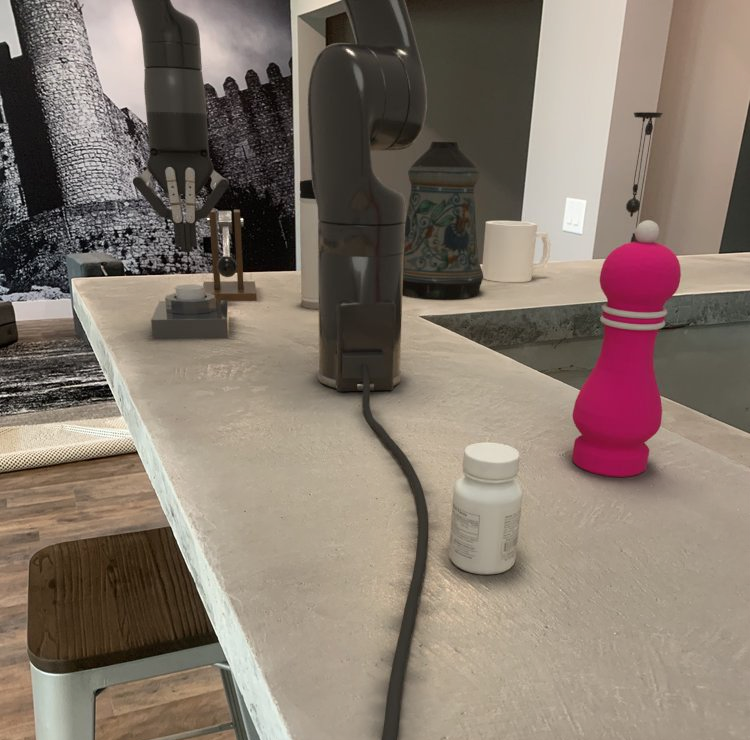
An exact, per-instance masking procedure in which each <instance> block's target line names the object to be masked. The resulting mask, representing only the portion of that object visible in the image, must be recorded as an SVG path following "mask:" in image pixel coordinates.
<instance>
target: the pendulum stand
mask: <svg viewBox="0 0 750 740" xmlns="http://www.w3.org/2000/svg"><path fill="white" fill-rule="evenodd" d="M233 219H234V220H233V222H234V224H233V225H234V240H235V241H234V242H235V259H236V260H235V262H236V264H237V271H236V277H237V278H236V280H235V281H234V280H233V281H230V280H229V281H221V274H220V273H219V272H218V270H217V263H218V261H219V259H220V253H219V252H220V251H219V239H218V223H217V222H218V221H217V220H218V219H217V209H212V211H211V212H210V214H209V215H208V217H207V218H206V227H209V229H210V245H211V247H210V248H211V261H212V276H213V277H212V278H213V281H203V284H202V286H204V287H205V293H210V294H213V295H216V301H225V300H228V302H257V300H258V299H257V297H258V295H257V287H256V282H255V280H254V281H253V280H251V281H249V280H248V281H244V265H243V264H244V263H243V247H242V227H245V225H244V224H245V223H244V217H241V210H240V209H233Z"/></svg>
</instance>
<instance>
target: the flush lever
mask: <svg viewBox="0 0 750 740" xmlns="http://www.w3.org/2000/svg"><path fill="white" fill-rule="evenodd" d="M217 216H218V219H217V220H218V221H217V222H218V233H219V234H221V235H222V257H219V261H218V263H217V270H218V272H219V273H220V276H222V277H225V278H231V277H233V276H234V275H236V274H237V262H236V260H235V259H234V258H233V257H231V244H230V242H231V240H230V234H233V232H234V231H233V215H232V210H217Z"/></svg>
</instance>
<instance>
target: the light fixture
mask: <svg viewBox="0 0 750 740" xmlns="http://www.w3.org/2000/svg"><path fill="white" fill-rule="evenodd" d="M633 115H634V116H633V117H634V118H638V119H639V118H640V119H642V124H641V125H642V127H641V132H640V133H641V134H640V142H639V146H638V147H639V149H638V154H637V160H636V167H635V170H634V171H635V172H634V177H633V186H632V195H633V197H632V198H630V199H629V200H628V201H627V203H626V205H625V209H626V211H627V212H628V213H629V216H630V218H632V217H633V216H634V214H635V213H637V217H636V224H635V229H636V228H637V226H638V223H639V214H640V208H641V202H642V195H643V188H644V182H645V176H646V172H647V171H646V170H647V165H648V164H647V162H648V158H649V152H650V146H651V138H652V134H653V130H654V125H653V119H661V117H662V116H663V112H655V111H654V112H651V111H650V112H649V111H648V112H645V111H642V112H641V111H638V112H633ZM646 120H647V124H646V126H645V127H644V124H645V122H646ZM644 128H645V129H644ZM643 131H644V137H643ZM646 136H649V141H648V146H647V153H646V158H645V159H646V160H645V166H644V171H643V178H642V183H641V189H640V190H641V191H640V196H639V199H637V198H636V196H637V194H638V190H639V182H640V178H641V177H640V175H641V169H642V161H643V154H644V149H645V142H646ZM643 138H644V139H643ZM642 139H643V144H642ZM641 146H642V149H641ZM641 150H642V151H641ZM640 152H641V157H640ZM639 158H640V163H639ZM638 164H639V165H638ZM638 166H639V170H638ZM637 170H638V178H637V183H635V182H636V176H637ZM630 242H637V240H636V237H635V232H633V233H632V235H631V238H630Z"/></svg>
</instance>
